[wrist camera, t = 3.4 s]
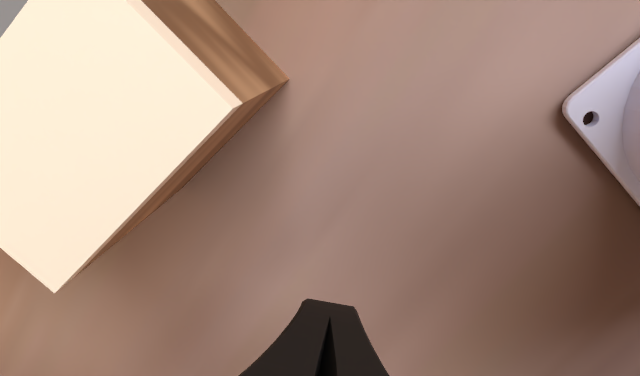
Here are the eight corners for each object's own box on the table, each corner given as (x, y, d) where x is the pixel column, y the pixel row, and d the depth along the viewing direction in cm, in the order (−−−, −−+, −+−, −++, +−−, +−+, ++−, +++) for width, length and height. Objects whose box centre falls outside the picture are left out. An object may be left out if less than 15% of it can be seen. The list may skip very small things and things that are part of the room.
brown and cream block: (289, 79, 17) (232, 108, 9) (181, 188, 18) (54, 293, 10) (207, -8, 16) (69, -56, 8) (102, 113, 17) (-96, 167, 10)
